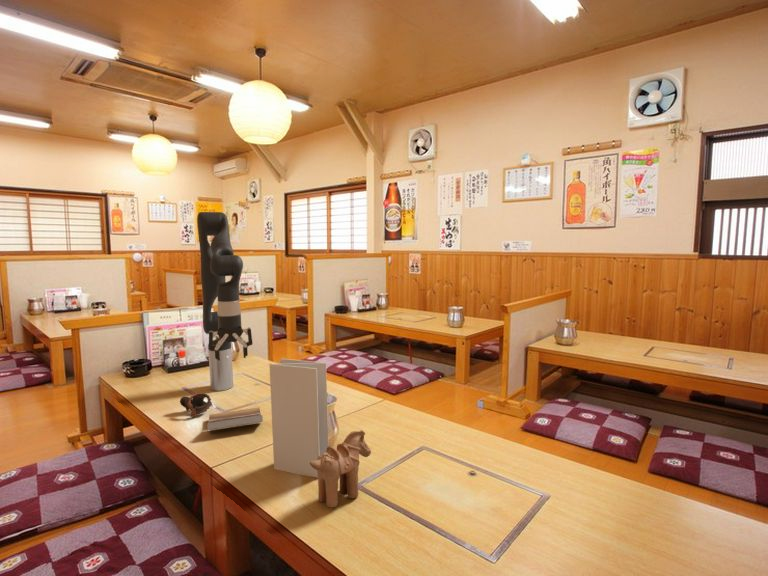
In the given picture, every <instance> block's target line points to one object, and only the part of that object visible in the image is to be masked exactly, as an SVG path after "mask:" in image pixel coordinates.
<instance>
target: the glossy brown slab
mask: <svg viewBox="0 0 768 576" xmlns="http://www.w3.org/2000/svg"><path fill="white" fill-rule="evenodd" d="M259 415H262V413H261V410H260V407H254V408H253V407H252V408H245V409H240V410H233V411H232V410H231V411H226V412H218V413H211V414H209V416H208V423H213V422H219V421H226V420H233V419H239V418H246V417H252V416H259Z"/></svg>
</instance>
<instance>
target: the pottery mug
mask: <svg viewBox="0 0 768 576" xmlns="http://www.w3.org/2000/svg"><path fill="white" fill-rule="evenodd" d="M205 398H207V402H206V401H204V400H205ZM179 403H180V405H181V406H182V407H183V408H185V410H186V411H187V412H188V411H190V414H189V417H191V418H195V417H196V416H198V415H201V414H203V413H205V412H207V411H208V410H209V409H210V408H211V407H212V406H213V403H212V398H211V397H210V395H208V394H207V393H203V392H196V393H194V394H192V395H190V397H189V396H182V397H181V398H180V399H179Z"/></svg>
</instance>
